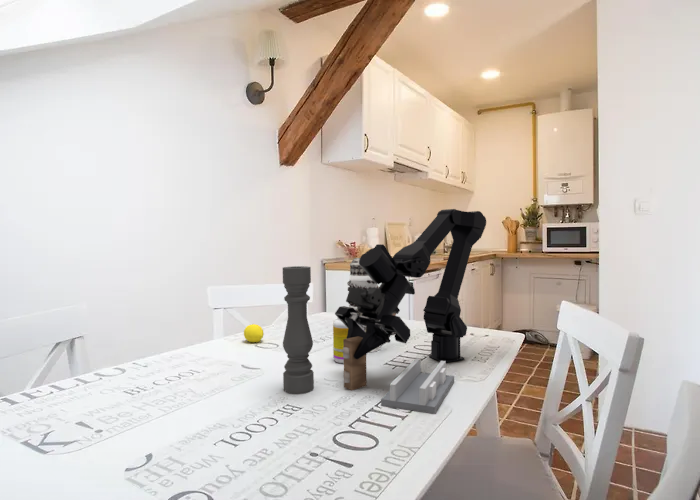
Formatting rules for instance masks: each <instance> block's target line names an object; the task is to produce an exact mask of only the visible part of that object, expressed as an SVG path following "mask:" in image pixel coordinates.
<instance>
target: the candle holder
mask: <svg viewBox="0 0 700 500" xmlns="http://www.w3.org/2000/svg"><path fill="white" fill-rule="evenodd" d="M311 271H312V270H311V266H305V265H304V266H303V265H302V266H299V265H298V266H296V265H295V266H283V267H282V284H283V285H284V286H283V287H284V289H285V291H286V293H287V294H286V295H285V296H284V298H283V301H285V302H286V304H287V321H286V326H285V331H284V335H283V340H282V347H283V350H284V352H285V353H286V354H287V355H286V357H287V358H288V360H287V361H286V363H285V364H284V371H283V373H282V375H283V377H282V378H283V380H282V381H283V384H282V385H283V391H284V392H285V393H286V394H290V395H291V394H292V395H302V394H306V393H307V394H308V393H310V392H312V391H314V388H315V384H314V382H315V379H314V374H315V373H314V371H313V370H312V368H313V363H312V362H311V361H310V360H309V358H308V357H309V356H310V354H309V353H310V352H311V350H312V349H313V345H314V341H313V337H312V333H311V329H310V324H309V322H308V310H307V307H308V306H307V304H308V301H309V300H310V299H311V296H310V295H309V294H308V293H307V292H308V290H309V288H310V284H311V283H312V279H311V277H312V276H311V274H312V273H311Z"/></svg>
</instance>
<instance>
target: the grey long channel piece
mask: <svg viewBox="0 0 700 500" xmlns="http://www.w3.org/2000/svg"><path fill="white" fill-rule="evenodd" d="M421 360H422V359H421V358H419V357H416V358H414V360H413V361H411V362H410V364H408V365H407V366H406V368H404V369H403V371H401V372H400V373H399V374H398V376H396V378H395V379H393V380H392V381H391V383H390V384H389V390H388V391H387V392H386V393H385V395H384V396H383V397H381V399H380V406H381V407H389V408H395V409H401V410H402V409H403V410H407V411H415V412H421V413H427V414H433V415H435V414H436V413H437V412H438V410H439V408H440V407H441V405H442V403H443V401H444V400H445V399H446V398H445V397H446V396H447V395H448V393H449V391H450V389H451V387H452V386H453V384H454V383H455V376H454V375H448V374H447V363H446V361H439V363H438V364H437V366H436V367H434V369H433V371H432V372H431V373H430V372H421V371H422V370H421V369H422V368H421V364H422V363H421V362H422V361H421Z"/></svg>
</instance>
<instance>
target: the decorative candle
mask: <svg viewBox="0 0 700 500" xmlns="http://www.w3.org/2000/svg"><path fill="white" fill-rule="evenodd" d="M360 258H361V257H355V258H353V259H352V261H351V262H350V263H349V266H350V267H349V273H350V274H349V281H347V286H348V287H347V291H348V292H349V290H350V287H353V288H360V289H364V290H369V289H370V288H377V289H378V287H379V286H380V285H381V283H379V284H377V283H374V282H373V280H372V279H371V278H370V277H369V276H368V274H367V273H366V272H365V271H364V269H363V268H362V267H361V266H360V264H359V260H360ZM377 285H378V287H377ZM348 307H351V308H354V309H355V310H356V312H357V313H358V314H359V315H361V316H362V312H359V310H358V309H357V308H358V306H357V305H355V304H352V303H348ZM364 328H365V329H364V330H363V331H364V332H365V333H366V326H365V327H364ZM380 349H381V346H379V347H377V348H375V349H374V350H372V351H370V352H369V353H375V352H378V351H380Z"/></svg>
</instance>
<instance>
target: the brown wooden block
mask: <svg viewBox="0 0 700 500" xmlns="http://www.w3.org/2000/svg"><path fill="white" fill-rule="evenodd" d="M362 339H363V337H359V336H357V337H352V338H347V339H343V342H344V347H343V358H344V363H343V372H342V373H343V387H344V388H345V389H346V390H347V389H348V390H350V391H355V390H357V389H360V388H361V389H362V388H364V387H365V388H366V387H367V384H368V383H367V354H365V355H364V356H362V357H360V358H359V359H355V358H354V354H355V351H356V349H357V348H358V346H359V344H360V342H361V341H362Z"/></svg>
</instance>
